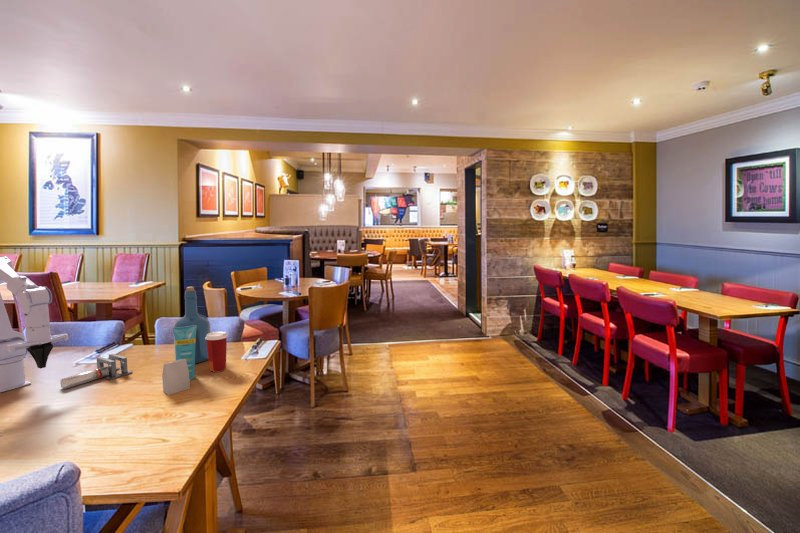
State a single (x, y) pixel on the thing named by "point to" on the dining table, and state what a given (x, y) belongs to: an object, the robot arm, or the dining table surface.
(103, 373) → the silver cylinder
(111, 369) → the grey holder stand
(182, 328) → the tube
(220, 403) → the dining table surface
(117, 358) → the collar
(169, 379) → the tea bag
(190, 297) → the wine bottle
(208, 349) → the paper cup
